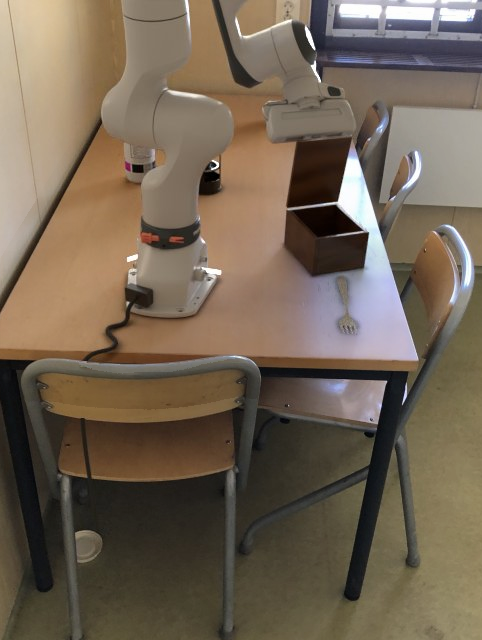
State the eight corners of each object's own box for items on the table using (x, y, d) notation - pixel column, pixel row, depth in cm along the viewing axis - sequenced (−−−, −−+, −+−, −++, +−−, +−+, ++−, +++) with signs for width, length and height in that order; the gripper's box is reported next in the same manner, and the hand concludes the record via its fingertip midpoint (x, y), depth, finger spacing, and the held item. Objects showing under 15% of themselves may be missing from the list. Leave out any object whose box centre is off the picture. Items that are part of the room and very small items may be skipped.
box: (364, 268, 155) (369, 231, 150) (311, 276, 151) (315, 239, 146) (333, 237, 167) (337, 202, 162) (283, 244, 163) (286, 209, 158)
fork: (348, 277, 151) (349, 270, 150) (358, 342, 131) (359, 334, 130) (333, 277, 151) (334, 269, 150) (341, 341, 131) (342, 333, 130)
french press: (218, 197, 184) (218, 109, 171) (182, 193, 185) (181, 106, 172) (225, 180, 194) (226, 95, 180) (191, 177, 194) (190, 93, 181)
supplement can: (119, 180, 191) (115, 125, 182) (137, 170, 197) (134, 117, 188) (144, 186, 188) (141, 131, 179) (161, 176, 194) (159, 122, 185)
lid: (352, 137, 150) (350, 135, 150) (297, 142, 146) (296, 140, 146) (338, 201, 162) (336, 200, 162) (287, 208, 158) (285, 206, 158)
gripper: (264, 94, 148) (279, 155, 146) (350, 88, 154) (365, 146, 152) (256, 109, 154) (270, 167, 152) (339, 103, 160) (353, 159, 158)
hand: (318, 157), depth 152 cm, fingers closed, pressing on lid
